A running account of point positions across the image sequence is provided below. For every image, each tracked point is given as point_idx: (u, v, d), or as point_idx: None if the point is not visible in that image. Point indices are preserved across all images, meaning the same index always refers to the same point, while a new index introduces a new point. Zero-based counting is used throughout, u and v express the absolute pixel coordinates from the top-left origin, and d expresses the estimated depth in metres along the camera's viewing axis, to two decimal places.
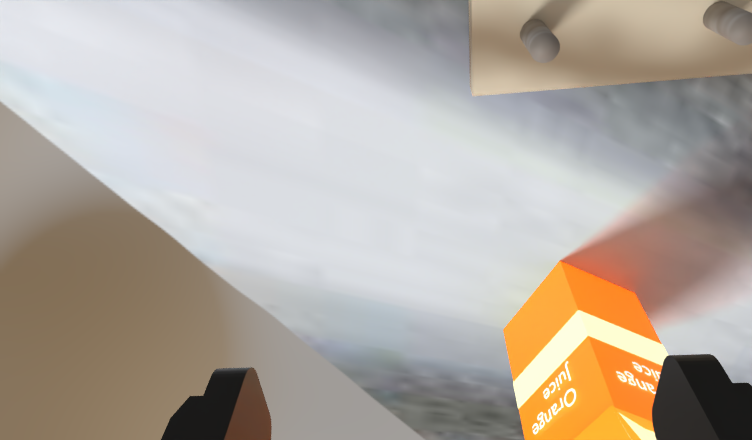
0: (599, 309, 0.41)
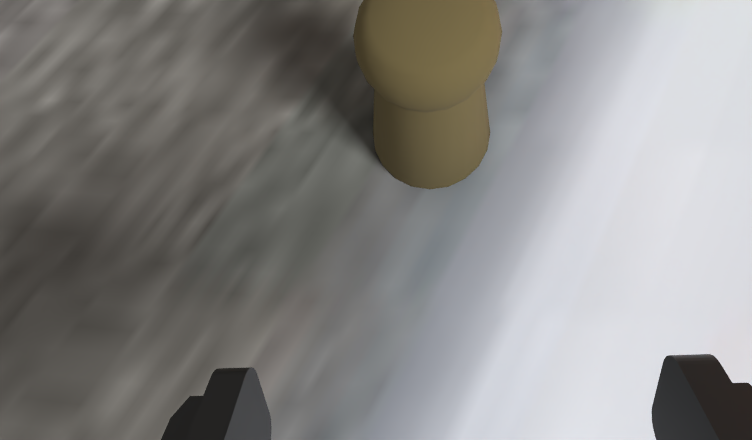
0: None
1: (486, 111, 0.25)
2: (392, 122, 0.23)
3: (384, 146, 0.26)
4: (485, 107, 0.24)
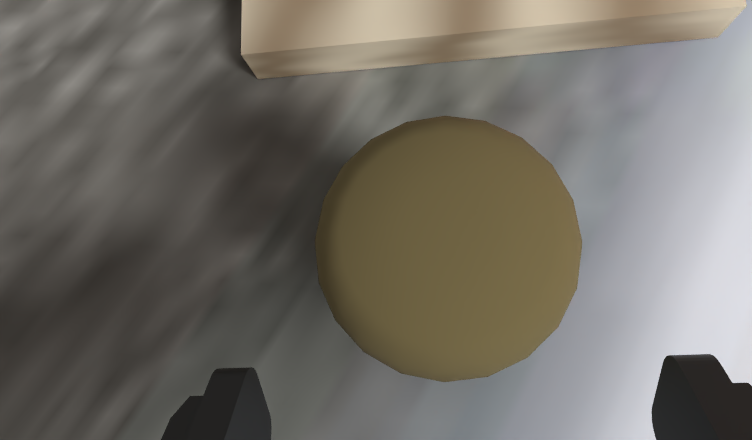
0: None
1: None
2: None
3: None
4: None
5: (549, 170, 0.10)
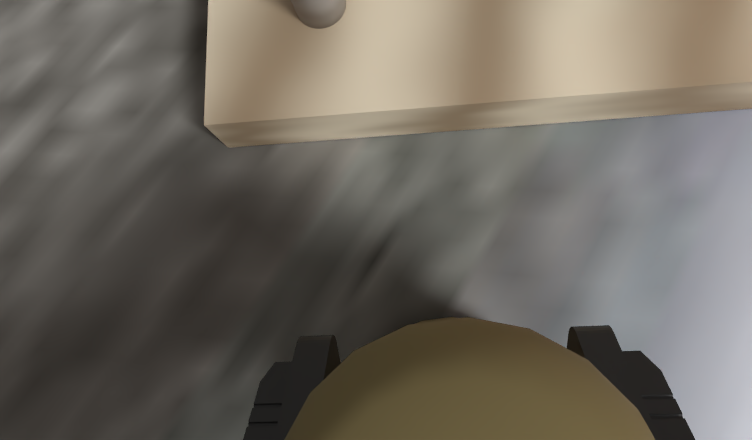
0: None
1: None
2: None
3: None
4: None
5: None
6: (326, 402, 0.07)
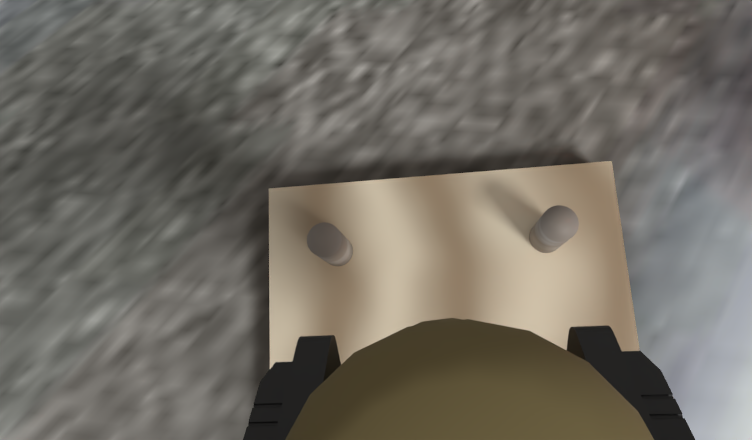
0: None
1: None
2: None
3: None
4: None
5: None
6: (326, 404, 0.07)
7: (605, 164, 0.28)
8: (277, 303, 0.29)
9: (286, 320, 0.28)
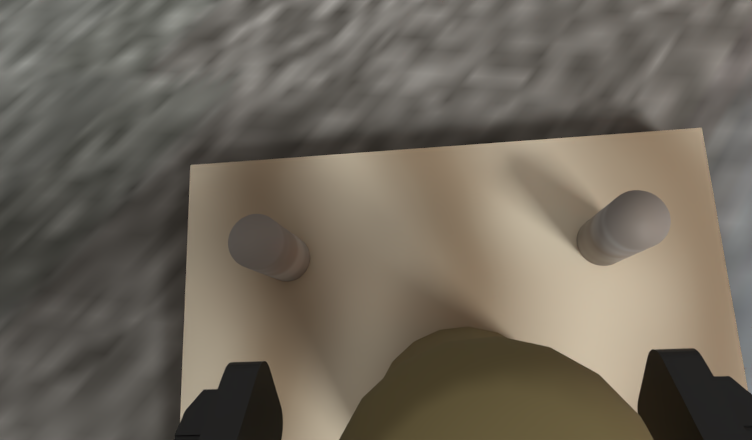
0: None
1: None
2: None
3: None
4: None
5: None
6: (381, 407, 0.08)
7: (692, 132, 0.19)
8: (195, 336, 0.19)
9: (207, 362, 0.19)
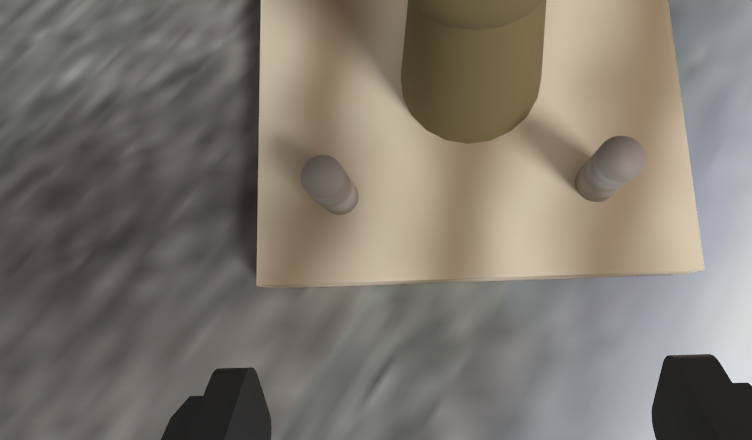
0: None
1: (542, 45, 0.21)
2: (428, 52, 0.18)
3: (415, 88, 0.21)
4: (543, 39, 0.20)
5: None
6: None
7: None
8: (269, 32, 0.26)
9: (278, 49, 0.25)
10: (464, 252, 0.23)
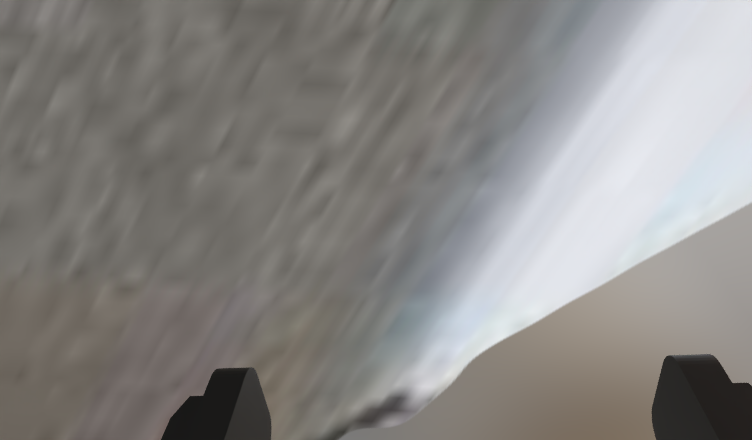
0: None
1: None
2: None
3: None
4: None
5: None
6: None
7: None
8: None
9: None
10: None
